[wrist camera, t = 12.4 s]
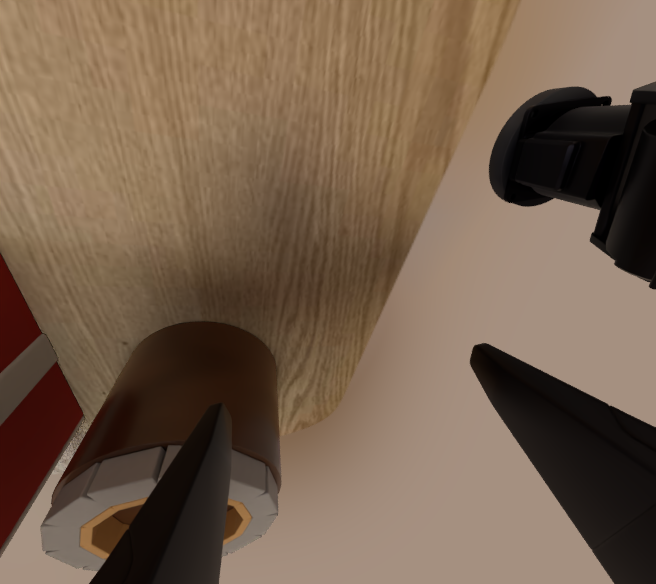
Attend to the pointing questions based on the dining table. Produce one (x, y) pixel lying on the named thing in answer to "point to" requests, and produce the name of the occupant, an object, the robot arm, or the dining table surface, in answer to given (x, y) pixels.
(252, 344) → the brown cylindrical pot
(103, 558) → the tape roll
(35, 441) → the red gift box
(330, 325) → the dining table surface
